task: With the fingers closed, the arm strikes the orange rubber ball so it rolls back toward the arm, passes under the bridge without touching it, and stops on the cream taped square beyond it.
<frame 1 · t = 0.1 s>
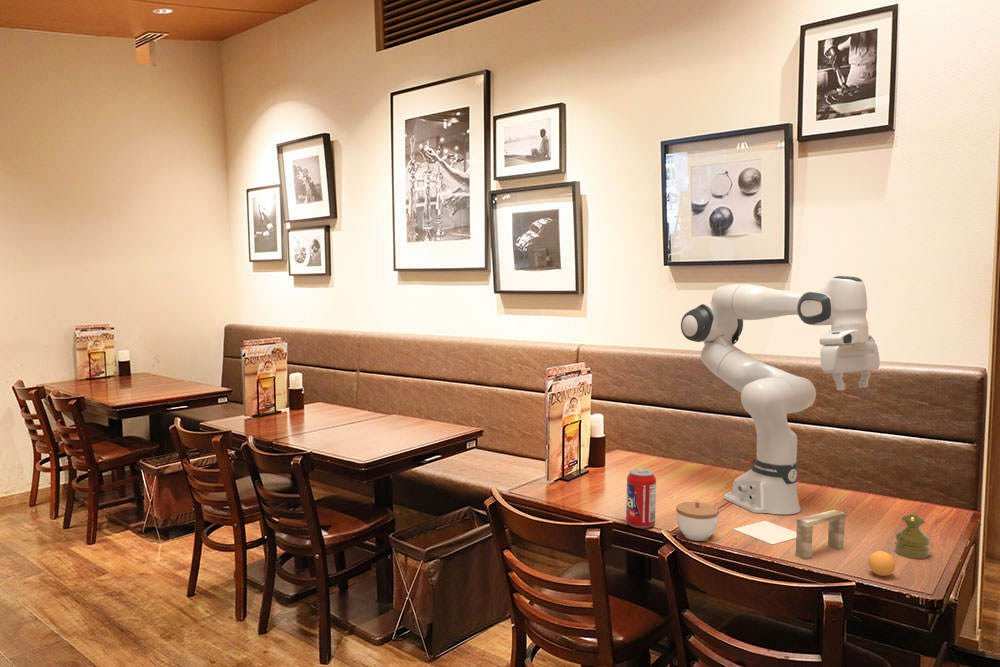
hand: (852, 388, 193), 39 cm above the table, tool pointing down, fingers open, 8 cm apart
ball: (881, 563, 168), on the table
green tiered figurine: (911, 554, 181), on the table
bridge: (819, 551, 181), on the table
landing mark: (768, 532, 195), on the table
lidded jar: (696, 537, 192), on the table
soda can: (640, 525, 200), on the table
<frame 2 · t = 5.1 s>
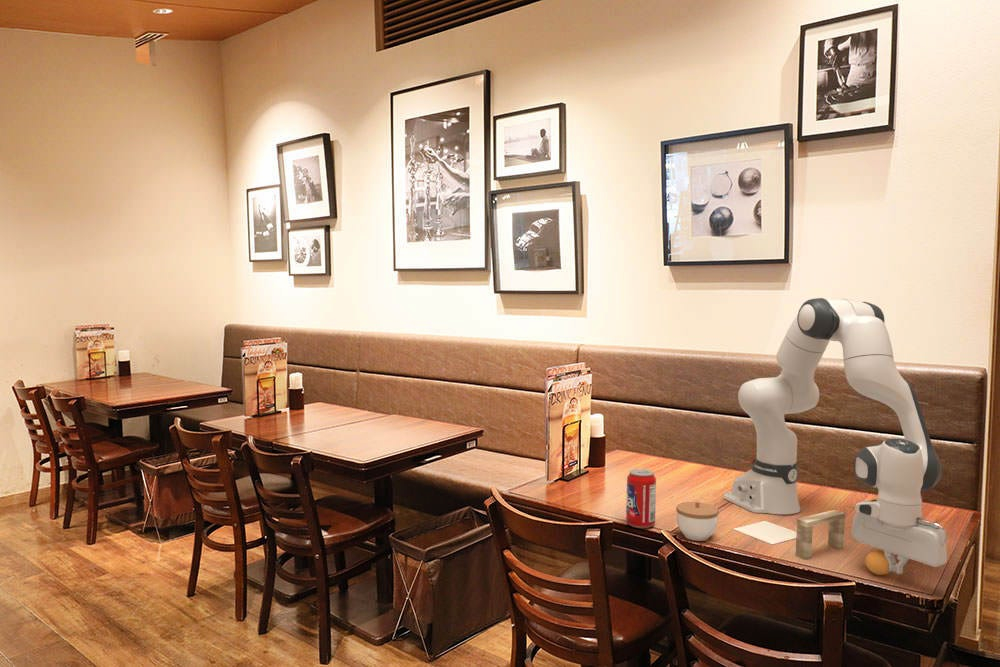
hand: (895, 572, 165), 2 cm above the table, tool pointing down, fingers closed
ball: (879, 562, 168), on the table, touching gripper
everything else where it was.
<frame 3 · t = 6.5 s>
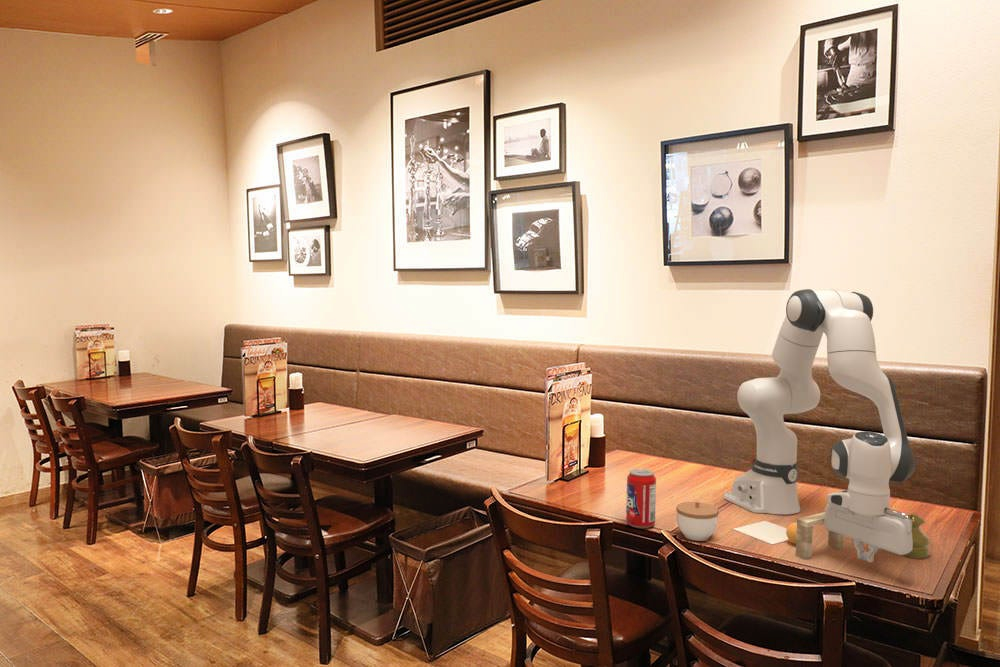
hand: (865, 560, 171), 2 cm above the table, tool pointing down, fingers closed
ball: (797, 533, 187), on the table
everything else where it was.
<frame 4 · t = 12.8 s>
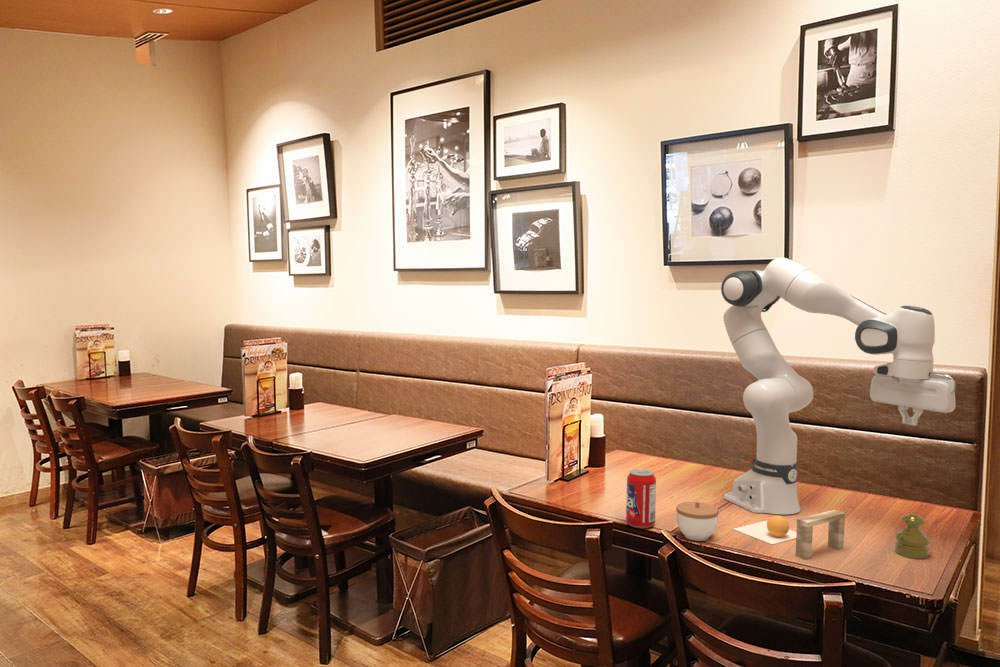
hand: (909, 424, 185), 31 cm above the table, tool pointing down, fingers closed
ball: (777, 526, 192), on the table
everything else where it was.
at the end: ball 3.0 cm from the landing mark (horizontally); ball never touched bridge; ball at rest at the end (0.0 cm/s) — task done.
